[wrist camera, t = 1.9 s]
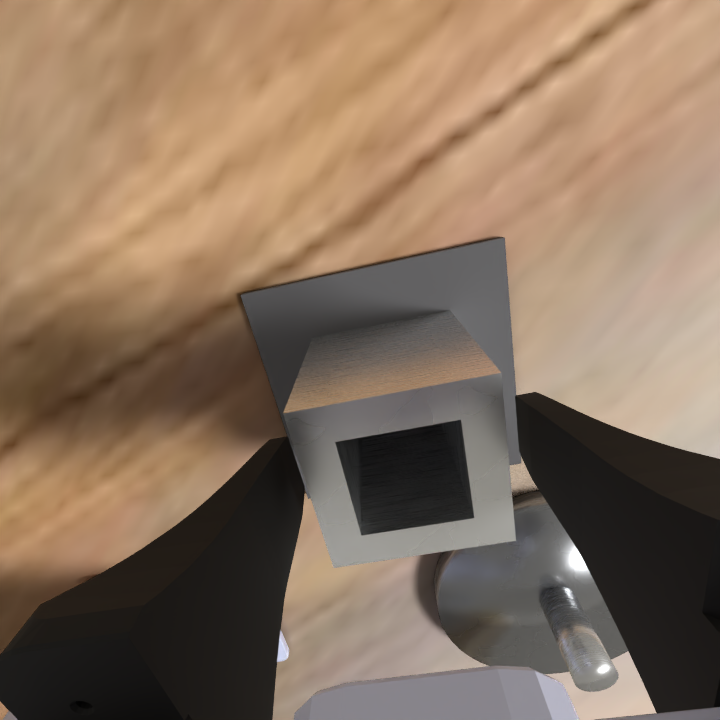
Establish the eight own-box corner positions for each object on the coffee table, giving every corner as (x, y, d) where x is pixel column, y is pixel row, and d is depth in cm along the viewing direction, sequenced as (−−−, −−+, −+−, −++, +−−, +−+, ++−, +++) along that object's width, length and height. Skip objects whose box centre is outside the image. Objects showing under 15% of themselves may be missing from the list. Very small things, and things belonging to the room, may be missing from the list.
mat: (309, 494, 19) (308, 498, 18) (242, 293, 15) (240, 295, 15) (518, 459, 18) (521, 463, 18) (501, 237, 14) (504, 237, 14)
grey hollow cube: (343, 451, 17) (333, 568, 12) (312, 338, 15) (282, 413, 10) (466, 430, 17) (516, 540, 11) (449, 310, 15) (501, 372, 9)
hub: (449, 662, 23) (468, 767, 19) (418, 509, 19) (434, 600, 15) (657, 637, 22) (728, 742, 18) (674, 469, 18) (774, 554, 14)
